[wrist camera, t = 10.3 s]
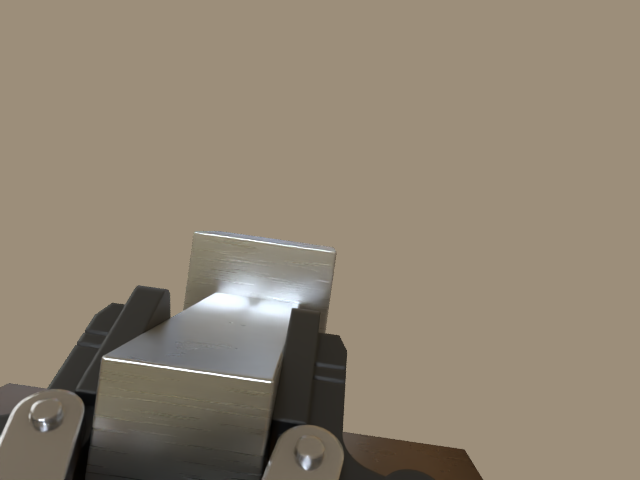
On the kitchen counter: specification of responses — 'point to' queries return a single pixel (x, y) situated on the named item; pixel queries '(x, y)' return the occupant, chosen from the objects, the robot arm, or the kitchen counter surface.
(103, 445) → the silver stand
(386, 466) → the dark brown arch frame
